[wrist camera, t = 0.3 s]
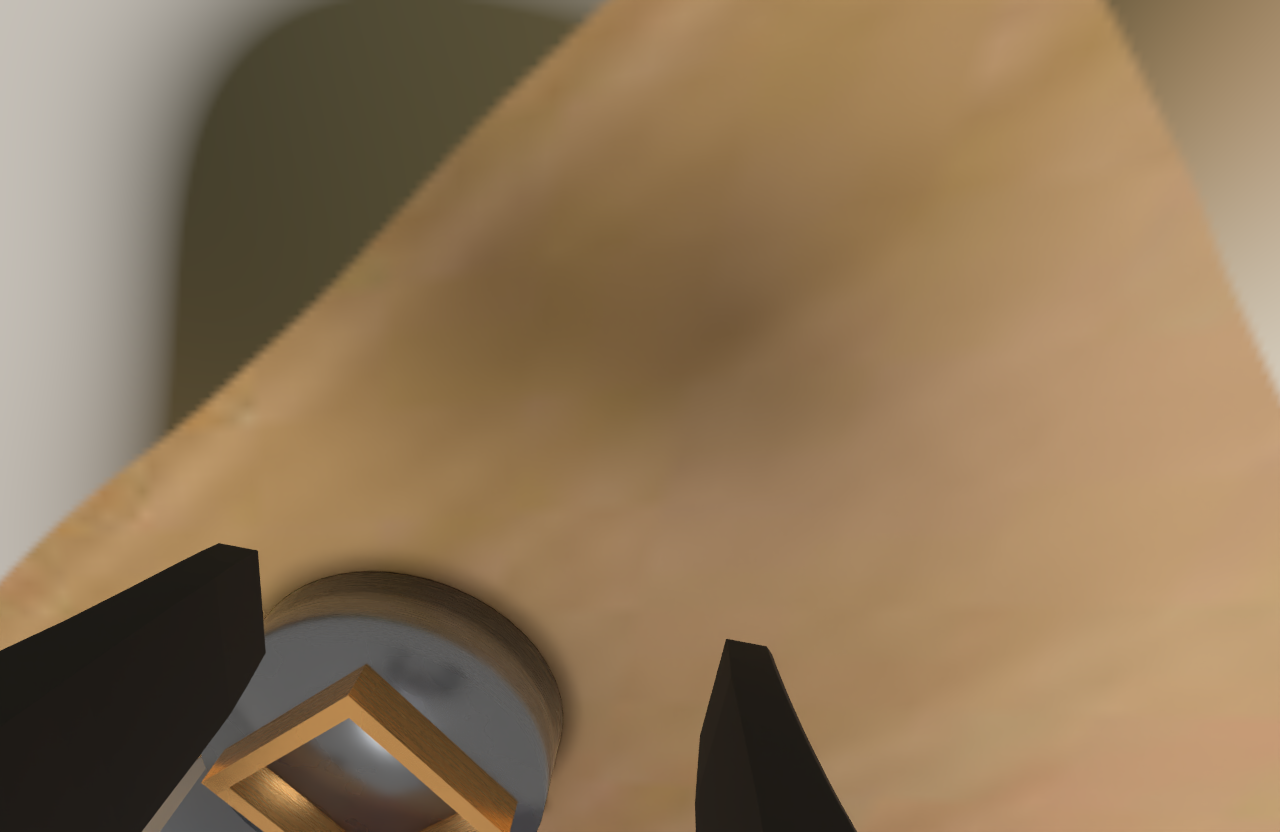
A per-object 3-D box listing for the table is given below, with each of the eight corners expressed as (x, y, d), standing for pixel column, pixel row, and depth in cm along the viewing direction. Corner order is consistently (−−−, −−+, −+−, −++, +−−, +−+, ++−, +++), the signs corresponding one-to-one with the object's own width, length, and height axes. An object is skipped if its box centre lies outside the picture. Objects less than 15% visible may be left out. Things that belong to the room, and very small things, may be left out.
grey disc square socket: (646, 758, 26) (634, 877, 22) (426, 860, 30) (383, 977, 26) (405, 514, 23) (343, 605, 19) (189, 663, 26) (100, 764, 23)
